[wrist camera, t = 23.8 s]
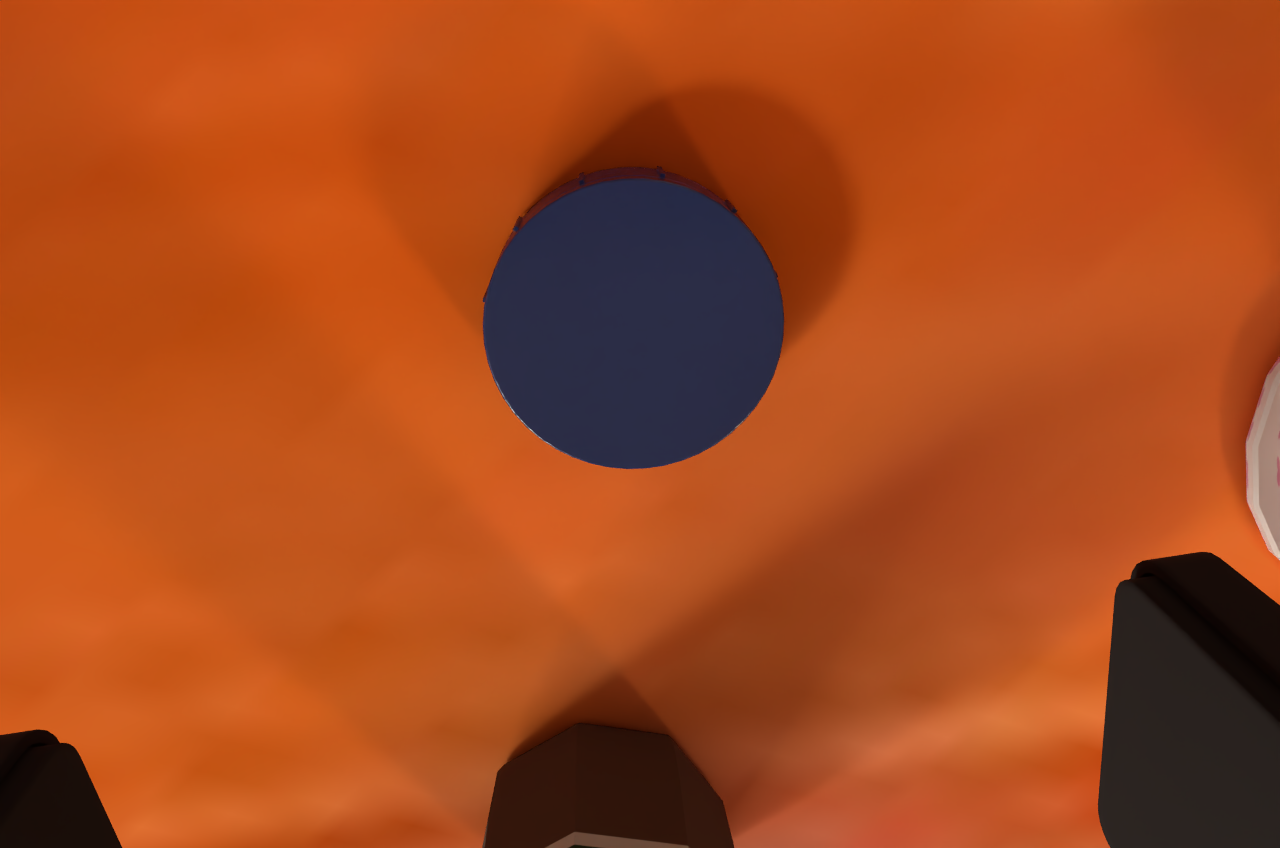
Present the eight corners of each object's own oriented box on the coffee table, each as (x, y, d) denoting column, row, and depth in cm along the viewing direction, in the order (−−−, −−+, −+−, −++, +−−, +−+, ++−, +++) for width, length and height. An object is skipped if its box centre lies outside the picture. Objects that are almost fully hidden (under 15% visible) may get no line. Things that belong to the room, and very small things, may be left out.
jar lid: (820, 342, 24) (839, 367, 22) (597, 484, 25) (598, 519, 23) (670, 106, 22) (677, 112, 20) (433, 275, 23) (419, 296, 21)
